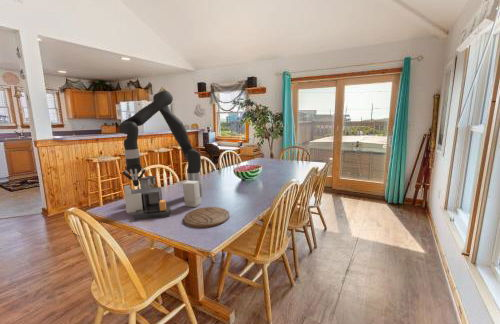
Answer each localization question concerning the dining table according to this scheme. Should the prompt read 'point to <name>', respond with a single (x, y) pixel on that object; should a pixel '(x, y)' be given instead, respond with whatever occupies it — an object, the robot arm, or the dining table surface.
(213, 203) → the dining table surface
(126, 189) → the sliding door
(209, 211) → the trivet
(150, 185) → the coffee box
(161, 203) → the fader
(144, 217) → the console
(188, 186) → the skincare box
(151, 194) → the dark grey stand
